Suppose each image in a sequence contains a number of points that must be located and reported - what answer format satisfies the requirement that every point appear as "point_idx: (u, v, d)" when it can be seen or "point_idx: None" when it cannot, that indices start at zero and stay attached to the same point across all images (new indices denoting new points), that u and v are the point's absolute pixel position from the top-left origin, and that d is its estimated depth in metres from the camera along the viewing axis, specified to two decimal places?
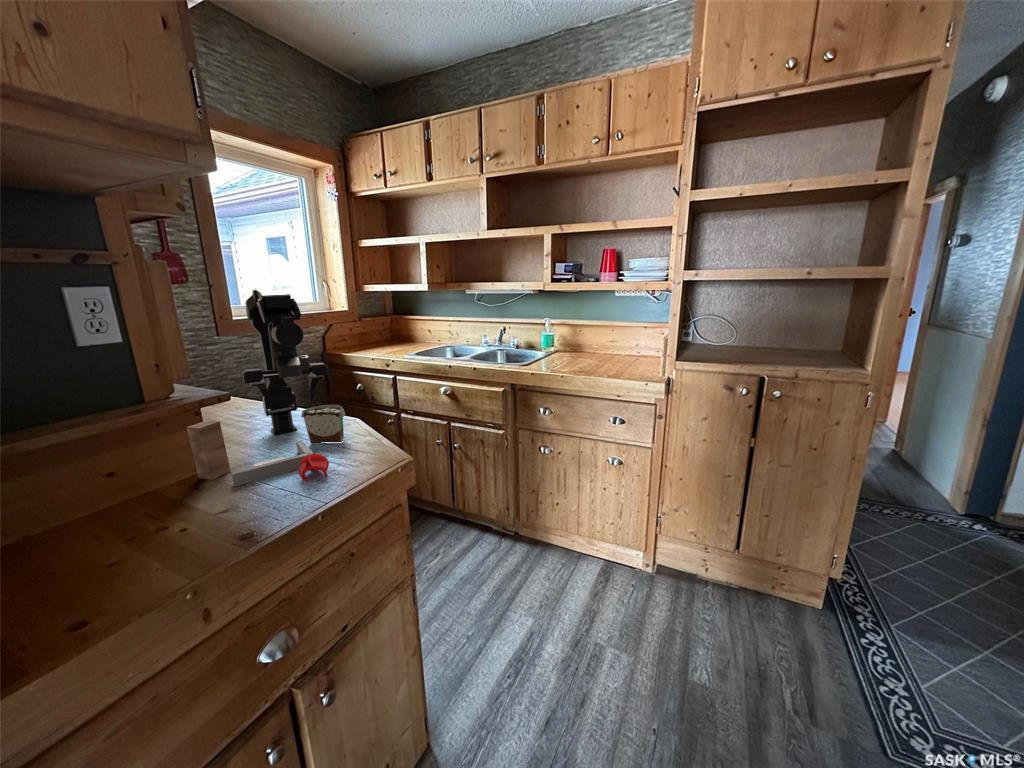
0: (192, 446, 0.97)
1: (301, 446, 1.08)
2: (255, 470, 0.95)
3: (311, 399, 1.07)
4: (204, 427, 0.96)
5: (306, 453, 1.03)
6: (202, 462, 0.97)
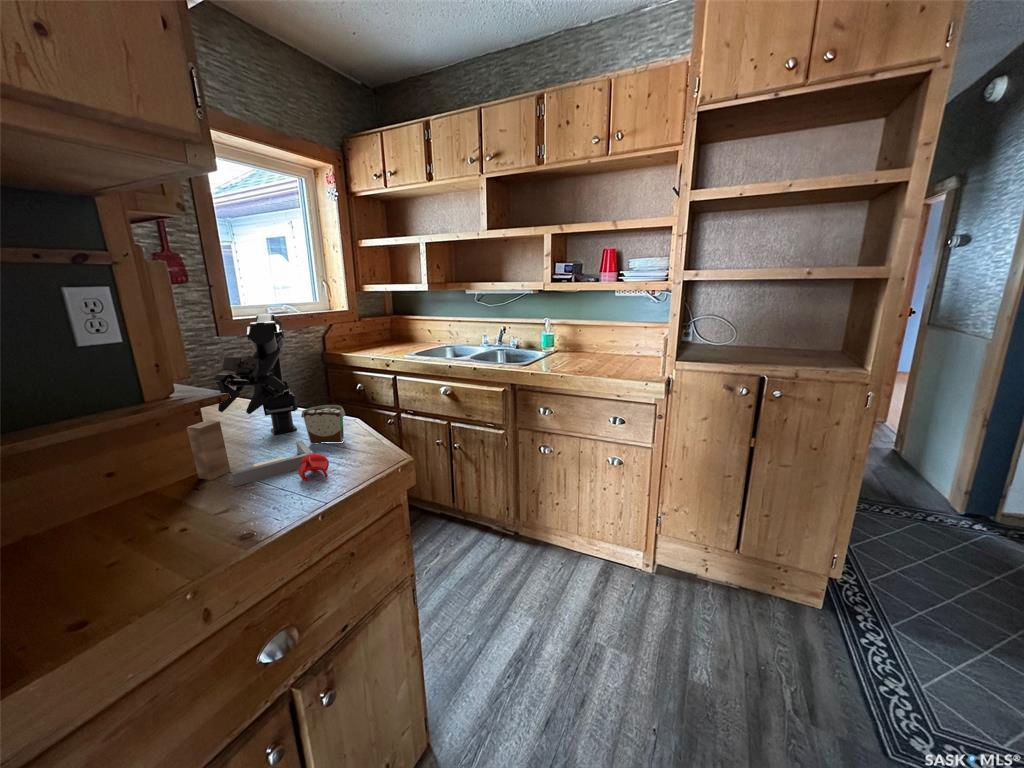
0: (192, 446, 0.97)
1: (301, 446, 1.08)
2: (255, 470, 0.95)
3: (248, 408, 1.03)
4: (204, 427, 0.96)
5: (306, 453, 1.03)
6: (202, 462, 0.97)
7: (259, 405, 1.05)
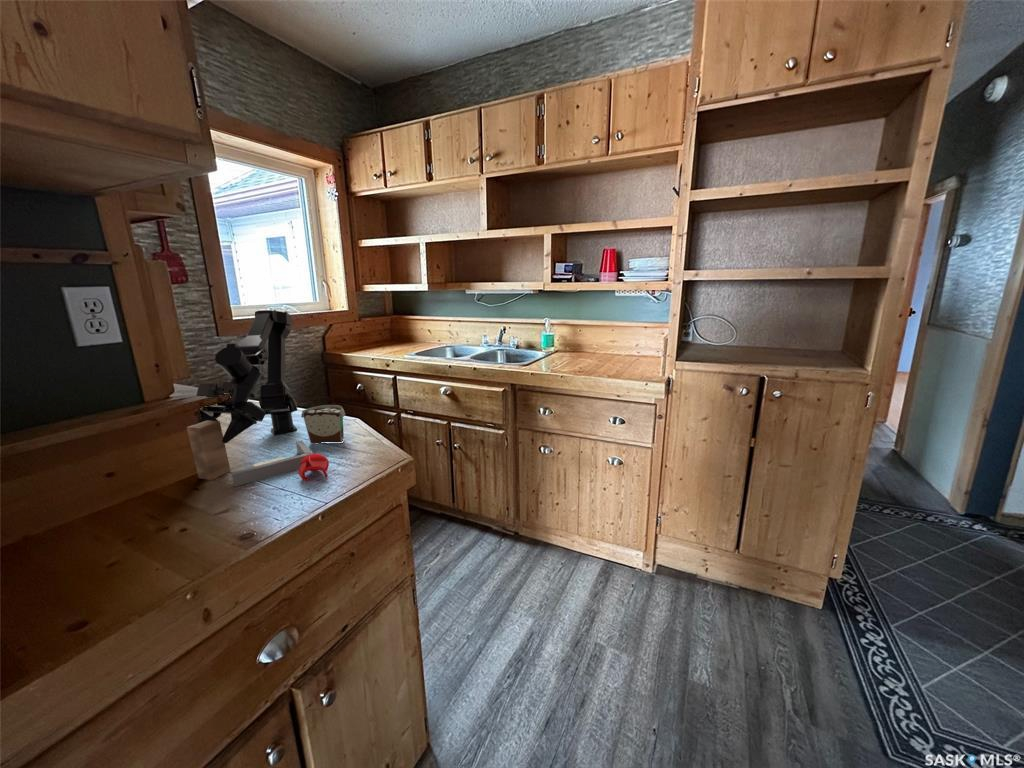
0: (192, 446, 0.97)
1: (301, 446, 1.08)
2: (255, 470, 0.95)
3: (224, 437, 0.97)
4: (204, 427, 0.96)
5: (306, 453, 1.03)
6: (202, 462, 0.97)
7: (236, 433, 0.99)
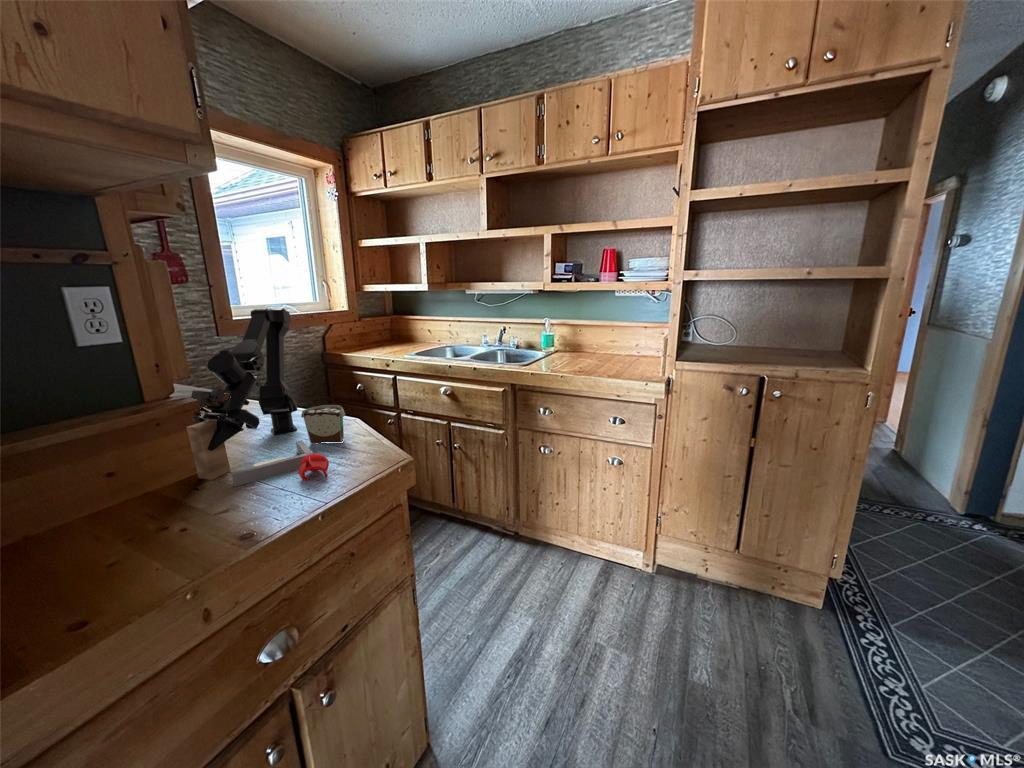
0: (192, 446, 0.97)
1: (301, 446, 1.08)
2: (255, 470, 0.95)
3: (209, 445, 0.97)
4: (204, 427, 0.96)
5: (306, 453, 1.03)
6: (202, 462, 0.97)
7: (223, 441, 0.99)
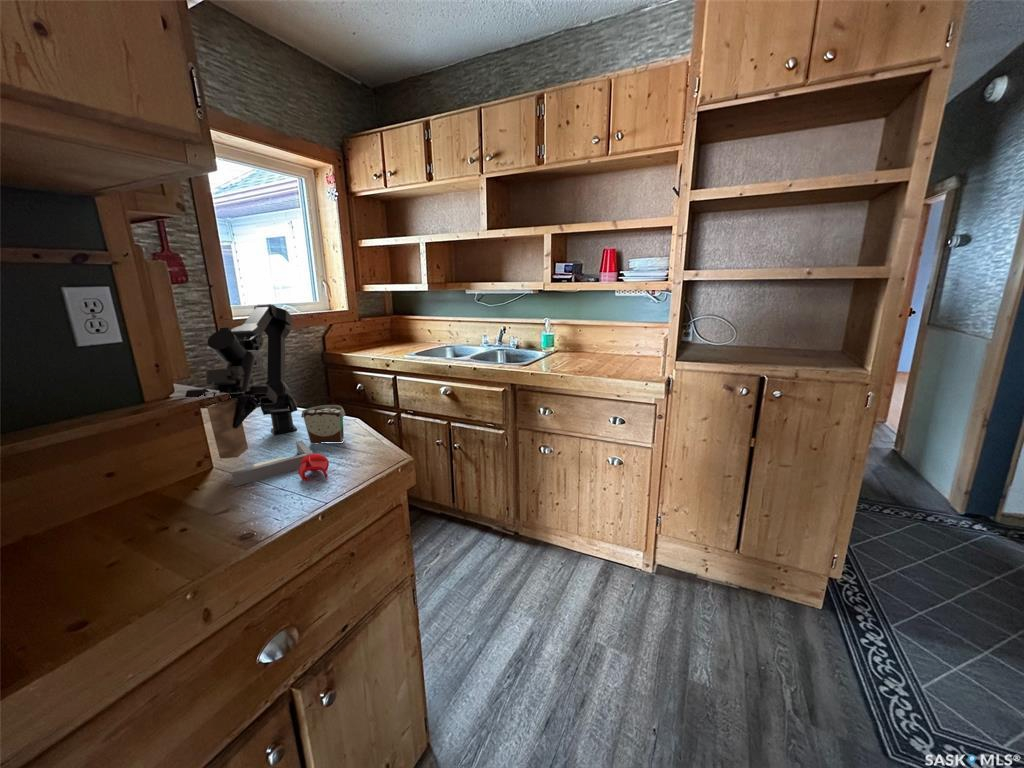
0: (213, 426, 0.95)
1: (301, 446, 1.08)
2: (255, 470, 0.95)
3: (234, 422, 0.97)
4: (228, 405, 0.96)
5: (306, 453, 1.03)
6: (227, 441, 0.97)
7: (243, 418, 0.99)
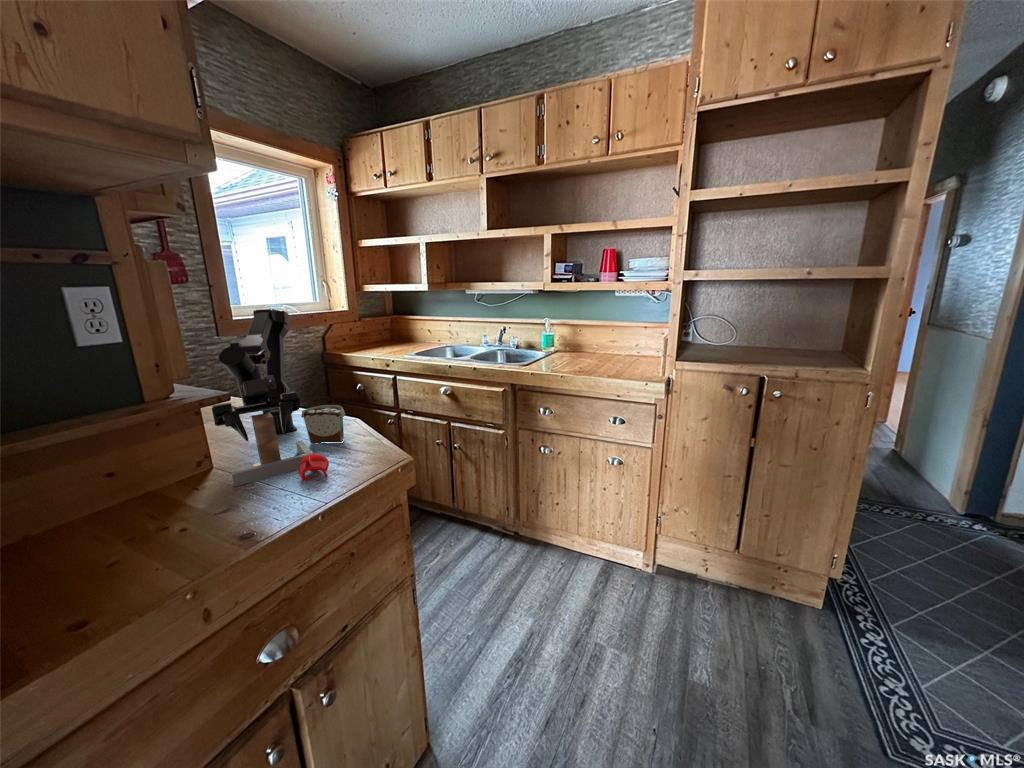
0: (259, 438, 0.99)
1: (301, 446, 1.08)
2: (255, 470, 0.95)
3: (284, 427, 1.03)
4: None
5: (306, 453, 1.03)
6: (272, 451, 1.01)
7: None
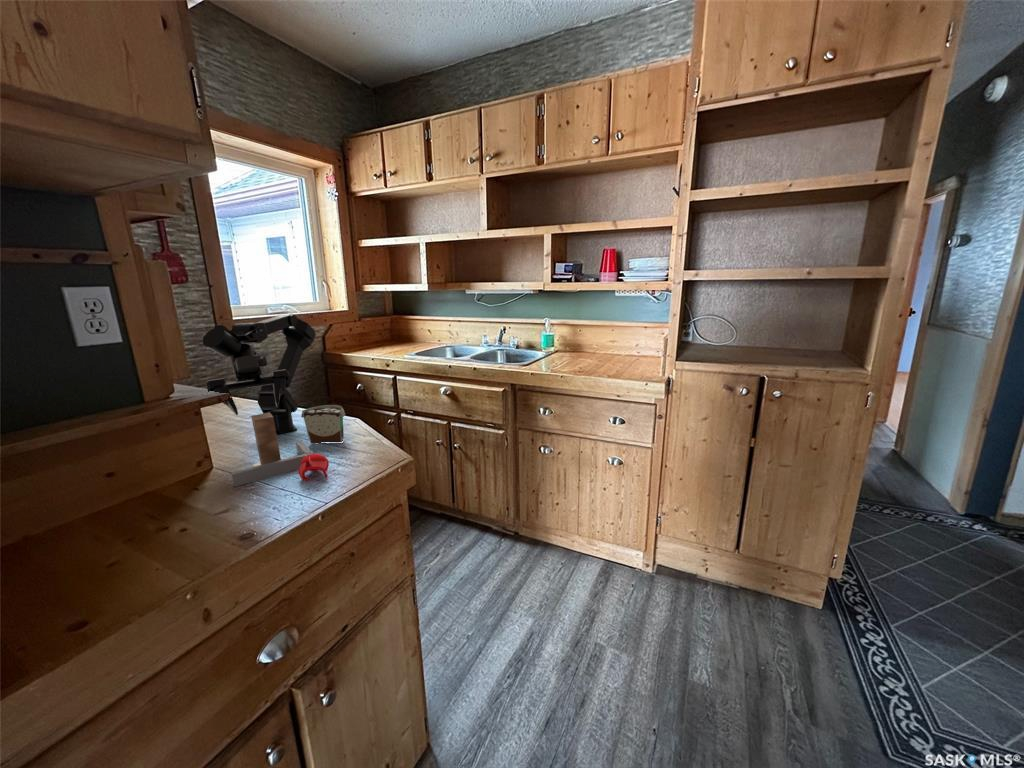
0: (259, 438, 0.99)
1: (301, 446, 1.08)
2: (255, 470, 0.95)
3: (277, 401, 1.09)
4: None
5: (306, 453, 1.03)
6: (272, 451, 1.01)
7: (279, 399, 1.11)
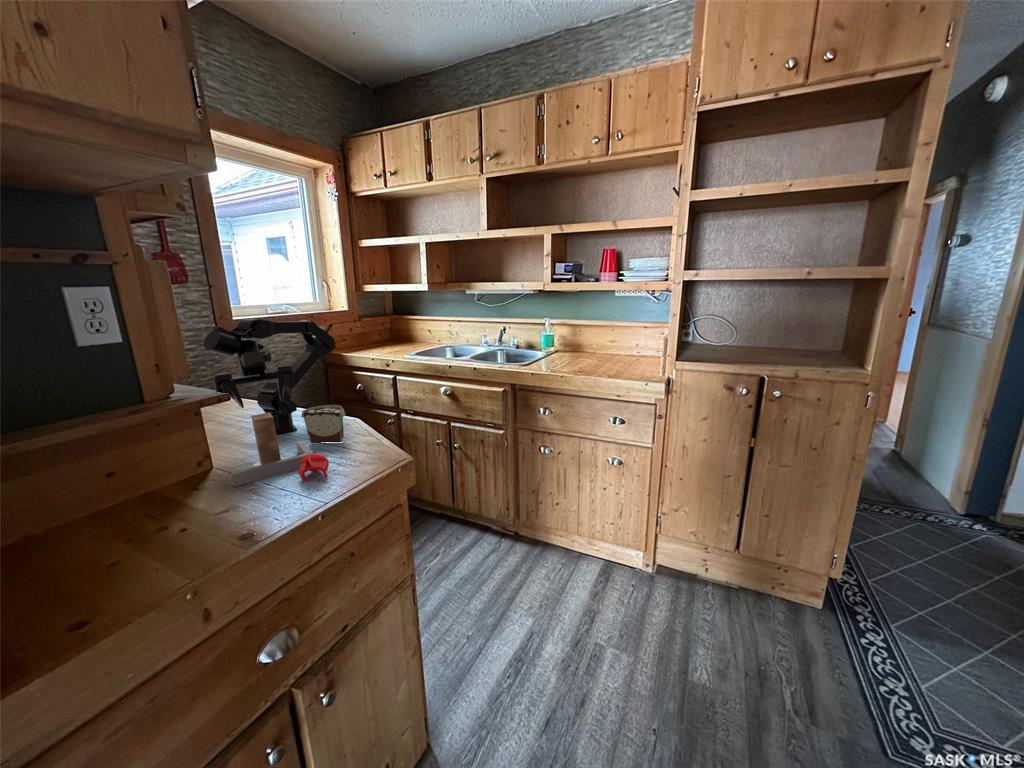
0: (259, 438, 0.99)
1: (301, 446, 1.08)
2: (255, 470, 0.95)
3: (281, 395, 1.14)
4: None
5: (306, 453, 1.03)
6: (272, 451, 1.01)
7: None
